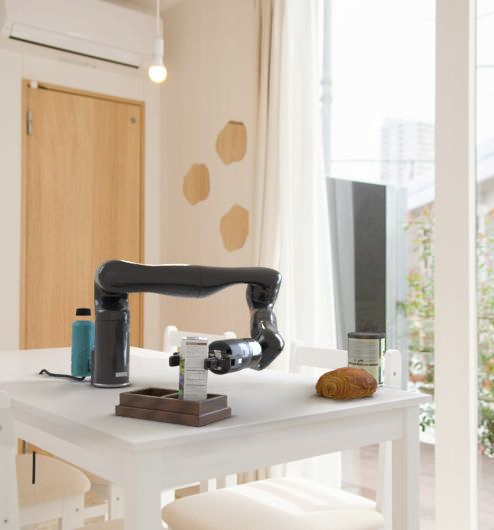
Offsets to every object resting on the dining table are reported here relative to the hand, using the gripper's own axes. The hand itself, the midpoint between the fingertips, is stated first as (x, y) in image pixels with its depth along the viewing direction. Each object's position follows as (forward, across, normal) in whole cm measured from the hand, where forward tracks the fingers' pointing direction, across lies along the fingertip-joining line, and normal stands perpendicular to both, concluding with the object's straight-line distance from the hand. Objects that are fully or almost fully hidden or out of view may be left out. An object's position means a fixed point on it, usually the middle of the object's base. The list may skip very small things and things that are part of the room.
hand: (187, 363), depth 141 cm
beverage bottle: (-28, +54, -12) cm, 62 cm away
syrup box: (-2, 0, -10) cm, 10 cm away
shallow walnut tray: (-2, +5, -12) cm, 13 cm away
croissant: (-46, -16, -12) cm, 50 cm away
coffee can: (-66, -14, -12) cm, 68 cm away
